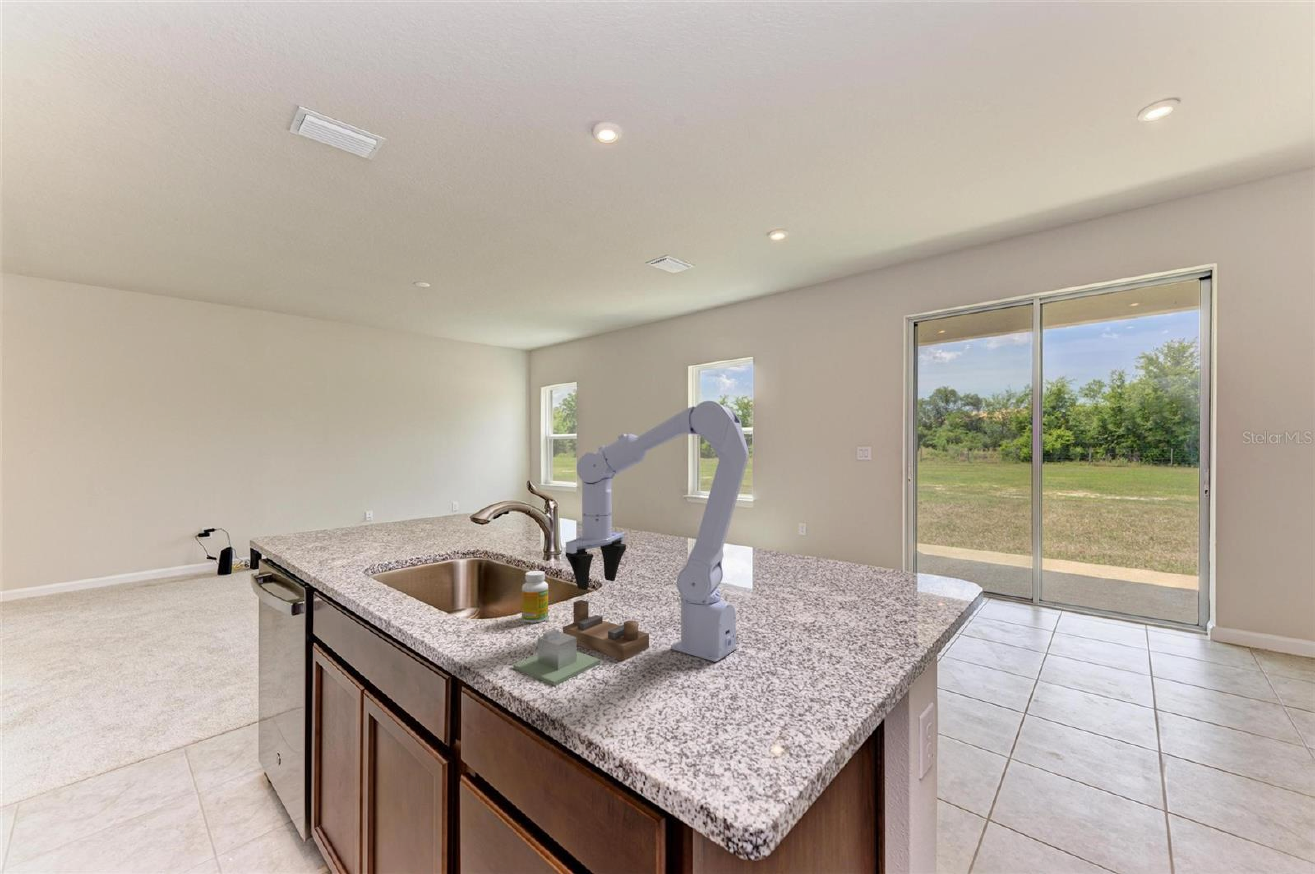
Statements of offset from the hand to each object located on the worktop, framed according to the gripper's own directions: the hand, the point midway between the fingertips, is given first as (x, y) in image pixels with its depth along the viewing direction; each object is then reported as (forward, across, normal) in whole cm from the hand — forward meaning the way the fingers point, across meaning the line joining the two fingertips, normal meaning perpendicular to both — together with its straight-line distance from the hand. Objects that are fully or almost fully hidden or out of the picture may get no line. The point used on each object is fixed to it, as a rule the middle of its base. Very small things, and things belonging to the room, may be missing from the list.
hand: (596, 584), depth 97 cm
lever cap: (+9, +14, +5) cm, 18 cm away
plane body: (+9, +3, +5) cm, 11 cm away
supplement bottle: (+10, +2, -16) cm, 19 cm away
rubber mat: (+9, +14, +5) cm, 18 cm away
